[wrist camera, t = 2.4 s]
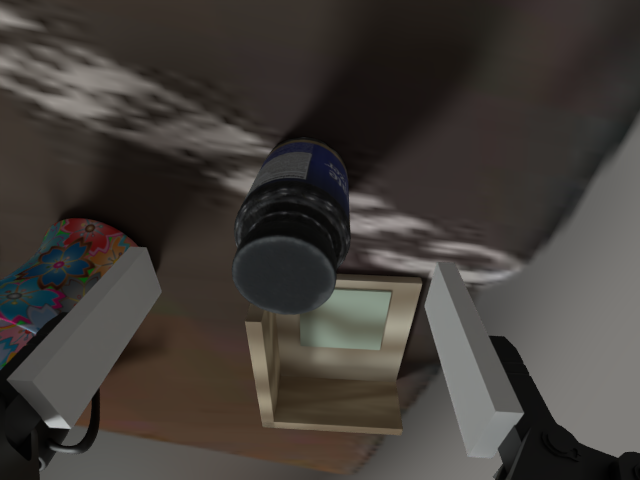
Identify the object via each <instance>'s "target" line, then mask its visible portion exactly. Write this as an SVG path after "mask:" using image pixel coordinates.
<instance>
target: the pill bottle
mask: <svg viewBox="0 0 640 480" xmlns="http://www.w3.org/2000/svg"><path fill="white" fill-rule="evenodd" d="M234 235H235V241H236V245H237V248H238V249H237V252H236V255H235V257H234V260H233V265H232V276H233V280H234V283H235V286H236V287H237V289H238V290H239V292H240V293H241V294H242V295H243V297H245V298H246V299H247V300H248V301H249V302H251V303H252V304H254V305H256V306H257V307H258V308H261V309H263V310H266V311H269V312H272V313H277V314H283V315H289V314H290V315H296V314H303V313H306V312H309V311H312V310H315V309H316V308H318V307H320V306H321V305H323V304H324V303H325V302H326V301H327V300H328V299H329V298H330V297H331V295H332V293H333V291H334V289H335V285H336V278H337V269H338V267H339V266H340V265H341V264H342V262H343V261H344V260H345V257H346V255H347V253H348V250H349V247H350V239H351V237H350V215H349V191H348V174H347V170H346V166H345V164H344V162H343V160H342V158H341V157H340V155H339V154H338V153H337V152H336V151H335V150H333V149H332V148H329V147H328V146H327V145H326V143H324V142H323V141H320V140H317V139H314V138H308V137H299V138H293V139H290V140H286V141H284V142H282V143H281V144H279V145H278V146H276V147H275V148H274V149H273V150H272V151H271V152H270V154H269V155H268V157H267V158H266V160H265V162H264V164H263V166H262V168H261V169H260V171H259V173H258V175H257V177H256V179H255V181H254V183H253V185H252V187H251V189H250V191H249V193H248V194H247V196H246V198H245V200H244V202H243V204H242V206H241V208H240V210H239V212H238V215H237V217H236V220H235V227H234Z"/></svg>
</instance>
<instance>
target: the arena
mask: <svg viewBox="0 0 640 480" xmlns="http://www.w3.org/2000/svg"><path fill="white" fill-rule="evenodd" d="M421 287H422V281H421V278H420V277H399V276H377V275H355V274H337V278H336V285H335V289H334V291H333V293H332V295H331V297H330V298H329V299H328V300H327V301H326V302H325V303H324V304H323V305H321V306H320V307H318V308H316V309H315V310H312V311H309V312H306V313H303V314H296V315H290V314H289V315H283V314H277V313H272V312H269V311H266V310H263V309H261V308H258V307H257V306H256V305H254V304H252V303H250V307H249V310H248V313H247V317H246V320H245V324H246V330H247V336H248V342H249V348H250V354H251V360H252V366H253V372H254V378H255V384H256V390H257V395H258V401H259V407H260V413H261V419H262V425H263V427H271V428H288V429H305V430H322V431H339V432H356V433H373V434H390V435H401V433H402V431H403V427H402V420H401V414H400V407H399V401H398V394H397V388H396V379H397V375H398V372H399V368H400V364H401V361H402V357H403V353H404V349H405V346H406V342H407V338H408V335H409V331H410V327H411V324H412V320H413V316H414V313H415V309H416V305H417V302H418V298H419V294H420V291H421Z"/></svg>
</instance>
